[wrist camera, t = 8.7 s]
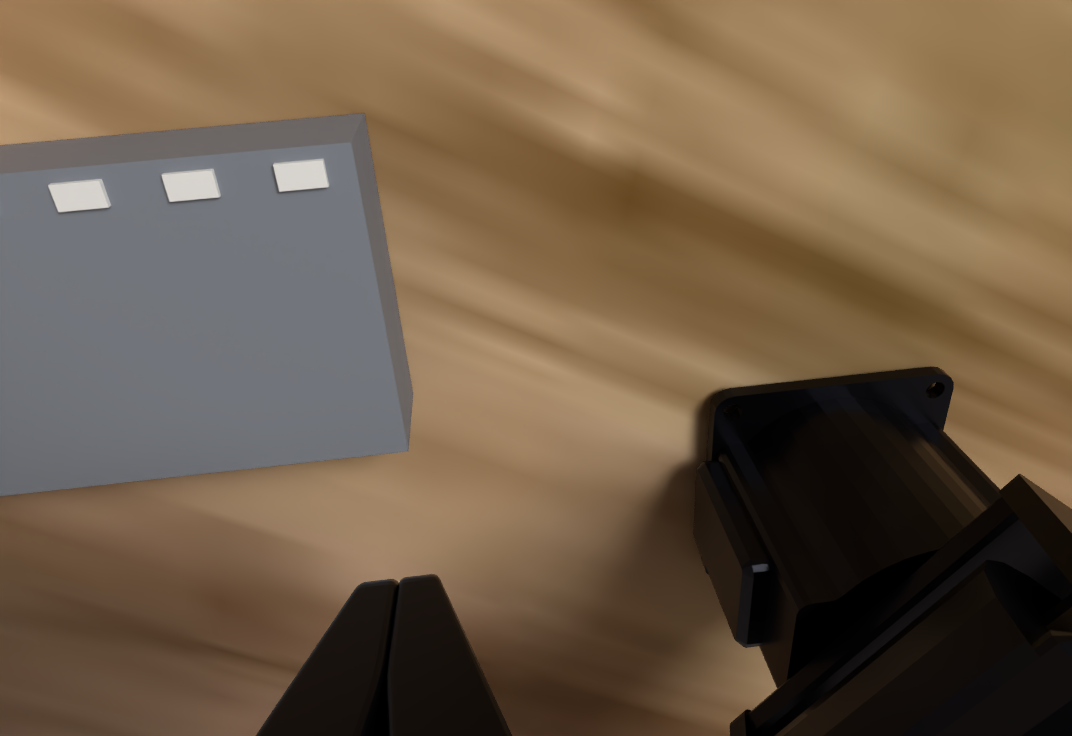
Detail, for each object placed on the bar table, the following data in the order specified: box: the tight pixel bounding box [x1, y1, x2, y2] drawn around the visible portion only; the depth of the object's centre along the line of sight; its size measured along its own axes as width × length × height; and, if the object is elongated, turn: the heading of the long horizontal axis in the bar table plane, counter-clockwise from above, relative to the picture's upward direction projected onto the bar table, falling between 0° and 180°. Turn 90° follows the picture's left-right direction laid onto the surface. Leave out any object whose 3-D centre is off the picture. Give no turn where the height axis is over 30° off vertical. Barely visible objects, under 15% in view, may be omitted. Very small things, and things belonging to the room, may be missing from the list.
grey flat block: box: [0, 113, 413, 496], centre depth 17 cm, size 14×7×3 cm, turn 94°
